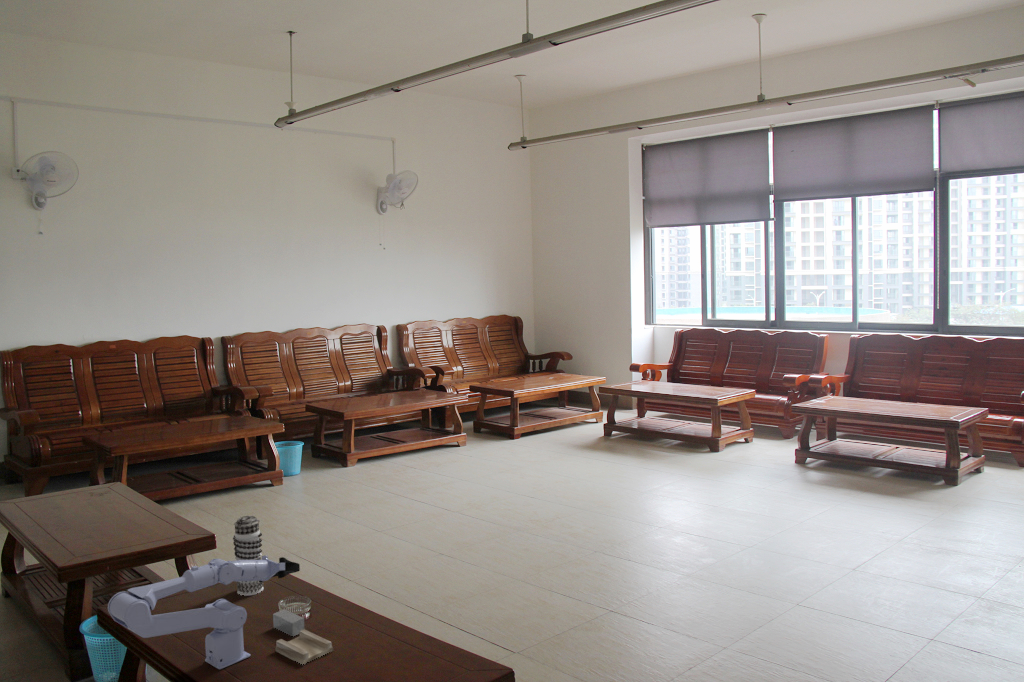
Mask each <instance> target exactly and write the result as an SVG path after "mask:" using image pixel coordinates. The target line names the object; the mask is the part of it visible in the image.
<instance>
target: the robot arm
mask: <svg viewBox="0 0 1024 682" xmlns="http://www.w3.org/2000/svg"><path fill="white" fill-rule="evenodd" d="M300 570H301V568H300V563H298V562H294V561H291V560H288V558H286V557H285V556H284V557H283V556H281V557H279V559H278V562H277V561H274V560H271V559H269V556H268V555H262V556H261V560H236V559H235V560H224V559H222V558H212V559H211V560H210V561H209V562H208V563H207V564H204V565H200V566H197V565H193V566H191V567H190V569H187V570H185V571H184V572H183V574H182V576H179V577H175V578H172V579H171V578H170V579H166V580H163V581H158V582H154V583H150V584H147V585H142V586H134V587H131V588H128V589H126V590H127V591H119V592H117V593H115V594H114V595H112V597H111V598H110V599H109V601H108V603H107V612H108V614H109V615H110V616H111V618H112V619H113V621H114V622H116V623H118V624H119V625H121V626H123V628H126V629H127V630H129V631H130V632H132V633H134V634H136V635H137V636H139V637H141V638H144V639H148V638H152V637H153V638H154V637H160V636H166V635H170V634H171V635H173V634H177V633H182V632H189V631H195V630H201V629H207V628H212V629H213V630H212V631H211V632H210V633H208V634H207V635H206V636H205V639H204V645H205V659H204V661H205V662H206V663H208V664H210V665H211V666H213V667H214V668H216V669H218V670H222V669H224V668H227V667H230V666H231V665H234V664H236V663H238V662H241V661H243V660H245V659H247V658H250V657H251V654H250V653H249V652H247V651H245V647H244V645H245V644H244V625H245V623H246V621H247V617H248V613H247V610H246V608H245V607H243V606H240V605H237V604H235V603H234V602H233V603H232V602H230V600H227V599H225V598H219V599H216V600H215V601H214V602H212V603H207V604H205V606H204V607H201V608H200V607H198V608H194V609H193V608H192V609H187V610H180V611H174V612H173V611H172V612H166V613H159V614H153V615H152V612H151V611H154V609H155V607H156V604H157V602H158V601H159V600H160V599H163V598H166V597H168V596H171V595H174V594H177V593H179V592H182V591H185V590H186V591H187V592H189V593H193V592H196V591H198V590H199V591H200V590H201V589H206V588H207V587H208V588H209V587H211V586H215V585H216V584H219V583H220V584H222V585H225V586H227V585H229V584H231V583H233V582H236V583H237V582H238V581H259V582H263V583H264V582H267V581H269V580H270V579H272V578H274V577H277V578H278V579H283V578H285V577H286V576H288V575H289V574H290V575H291V574H293V573H294V574H295V573H298V572H300Z"/></svg>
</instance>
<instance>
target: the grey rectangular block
mask: <svg viewBox="0 0 1024 682" xmlns="http://www.w3.org/2000/svg"><path fill="white" fill-rule="evenodd" d="M272 623H273V624H272V625H273V629H275V628H276V629H275V630H277V629H278V630H277V631H279V630H280V632H281V631H282V633H283V632H284V634H285V633H286V635H287V634H288V635H287V636H289V635H290V637H291V636H293V637H292V638H294V636H295V637H297V636H299V635H300V632H299V631H301V630H303V629H305V617H303V616H300V615H299V614H295V613H293V612H291V611H289V610H287V609H285V608H284V609H281V610H279V611H277V612H274V613H272ZM298 634H299V635H298ZM296 635H297V636H296Z"/></svg>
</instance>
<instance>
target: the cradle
mask: <svg viewBox="0 0 1024 682" xmlns="http://www.w3.org/2000/svg"><path fill="white" fill-rule="evenodd" d="M299 632H300V634H299V636H296V637H295V638H293V639H291V640H288V641H286V640H284V639H283V638H279V639H277V640H276V646H275V648H274V649H275V650H274V651H275V652H276V653H279V654H280V655H282V656H284V657H286V658H288V659H289V660H292V661H293V662H295V661H296V663H297V662H298V663H297V664H299V663H300V665H301V664H302V665H301V666H304V665H306V663H307V662H309V663H311V662H313V661H315V660H317V659H319V658H322V657H324V656H325V654H326V655H328V654H330V653H332V652H334V646H333V645H332V644H333V643H332V641H330V640H328V639H326V638H324V637H322V636H320V635H317V634H315V633H313V632H311V631H309V630H307V629H305V628H304V629H303V630H301V631H299ZM329 652H330V653H329ZM327 653H328V654H327ZM323 655H324V656H323ZM321 656H322V657H321ZM318 657H319V658H318ZM316 658H317V659H316ZM314 659H315V660H314ZM312 660H313V661H312ZM310 661H311V662H310ZM303 664H304V665H303ZM307 664H308V663H307Z"/></svg>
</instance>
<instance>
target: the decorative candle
mask: <svg viewBox="0 0 1024 682" xmlns="http://www.w3.org/2000/svg"><path fill="white" fill-rule="evenodd" d="M259 523H260V519H258V518H257V517H256V516H253V515H244V516H240V517H239V518H237V520H236V521H235V522H234V524H233V525H234V530H235V532H234V535H233V537H232V540H233V546H234V548H233V550H234V556H235V557H234V559H235V560H262V556H263V554H262V552H263V550H262V549H261V547H262V546H263V544H262V541H263V539H262V538H261V536H263V534H262V532H260V531H261V530H260V524H259ZM236 589H237V592H236V593H237V595H239V594H240V595H239V596H242V595H244V597H247V596H255V595H257V593H258V594H260V593H262V592H263V591H264V581H263V582H259V581H238V582H236ZM261 591H262V592H261Z"/></svg>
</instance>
